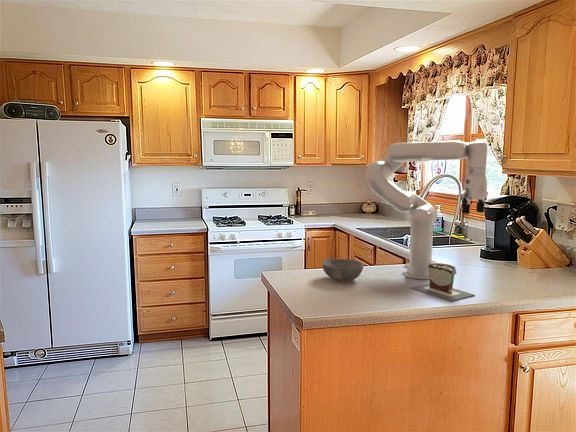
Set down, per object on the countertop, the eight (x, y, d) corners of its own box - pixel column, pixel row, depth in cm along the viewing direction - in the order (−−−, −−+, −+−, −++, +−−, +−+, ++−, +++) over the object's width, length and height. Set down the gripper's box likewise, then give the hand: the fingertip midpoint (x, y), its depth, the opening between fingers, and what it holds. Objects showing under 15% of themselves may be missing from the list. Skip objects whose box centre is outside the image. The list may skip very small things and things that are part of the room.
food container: (461, 292, 182) (463, 267, 181) (452, 294, 179) (453, 269, 178) (436, 284, 192) (437, 261, 191) (426, 287, 189) (427, 263, 188)
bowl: (362, 287, 190) (362, 268, 189) (319, 284, 193) (319, 265, 192) (363, 276, 207) (364, 258, 206) (324, 273, 211) (325, 256, 210)
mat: (410, 288, 189) (410, 286, 189) (433, 283, 197) (433, 282, 197) (451, 301, 173) (451, 300, 172) (474, 295, 180) (474, 294, 180)
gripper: (470, 172, 184) (467, 215, 187) (496, 172, 194) (493, 212, 196) (454, 171, 191) (452, 213, 193) (480, 171, 200) (477, 210, 202)
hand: (472, 212), depth 194 cm, fingers open, 9 cm apart
